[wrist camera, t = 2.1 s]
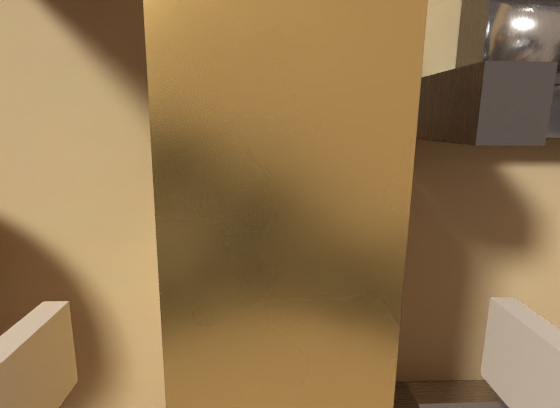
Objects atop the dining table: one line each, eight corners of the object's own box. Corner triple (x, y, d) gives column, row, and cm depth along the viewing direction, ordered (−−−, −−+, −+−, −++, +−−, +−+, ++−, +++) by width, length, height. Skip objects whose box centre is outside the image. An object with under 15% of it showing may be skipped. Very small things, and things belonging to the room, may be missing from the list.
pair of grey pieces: (362, 501, 20) (413, 691, 14) (397, -51, 15) (514, -195, 8) (527, 494, 21) (658, 674, 14) (621, -44, 15) (910, -175, 9)
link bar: (223, 437, 19) (185, 758, 10) (214, 58, 16) (139, -48, 6) (312, 434, 20) (364, 745, 10) (325, 60, 16) (431, -37, 6)
